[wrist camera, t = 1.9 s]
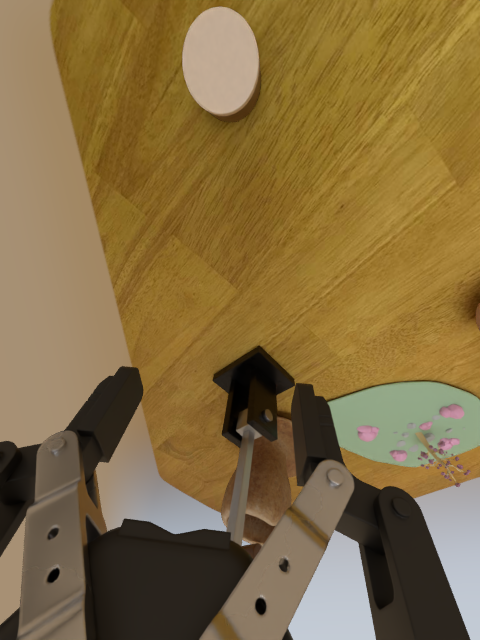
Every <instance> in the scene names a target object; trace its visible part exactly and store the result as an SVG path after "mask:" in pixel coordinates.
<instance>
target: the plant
mask: <svg viewBox="0 0 480 640" xmlns="http://www.w3.org/2000/svg"><path fill="white" fill-rule="evenodd" d="M327 403H328V405H329V406H330V410H331V414H332V418H333V422H334V427H335V430H336V435H337V439H338V443H339V446H340V447H342V448H344V449H347V450H349V451H351V452H354V453H356V454H358V455H361V456H363V457H366V458H368V459H371V460H374V461H378V462H383V463H389V464H394V465H400V466H406V467H418V466H422V467H424V465H425V464H428V463H430V464H433V463H434V462H436V461H437V462H436V463H435V464H434V465H426V468H427V469H429V467H427V466H435V465H436V464H437V463H438V462H440V463H441V464H442V465H444V466H445V468H446V469H447V474H445V473H444V472H442V473H441V475H445V476H444V477H445V478H446V479H448V478H449V473H450V474H451V473H452V474H453V473H454V471H451V472H450V470H449V468H448V467H449V466H453V465H449V464H451V463H450V461H447V460H450V459H445V458H448V457H452V456H455V455H458V454H461V453H464V452H466V451H469V450H471V449H473V448H476V447H478V446H480V400H479V399H478V398H477V397H476V396H474V395H472V394H471V393H468V392H466V391H464V390H461V389H458V388H455V387H452V386H449V385H446V384H443V383H439V382H430V381H420V382H399V383H392V384H385V385H380V386H375V387H371V388H368V389H365V390H362V391H359V392H356V393H353V394H350V395H347V396H344V397H341V398H338V399H335V400H332V401H329V402H327ZM441 460H446V461H447V463H446V464H445V463H444V462H442V461H441ZM455 460H456V461H458V460H459V458H458V457H456V458H455ZM448 463H449V464H448ZM441 464H439V467H441V466H442V465H441ZM437 466H438V465H437ZM437 466H436V467H437ZM439 467H437V469H439ZM453 467H455V466H453ZM457 467H458V468H459V469H461V470H462V468H463V466H462V465H457ZM455 468H456V467H455ZM456 469H457V468H456ZM459 469H457V470H458V471H461V470H459ZM463 472H466V473H464V475H468V474H469V473H470V470H467V471H463ZM452 474H451V476H452ZM452 477H453V476H452ZM453 479H454V477H453ZM449 480H450V481H452V480H451V479H449ZM454 480H455V479H454ZM455 482H456V481H455ZM455 485H456V487H459V486H460V484H459V483H456V484H455Z"/></svg>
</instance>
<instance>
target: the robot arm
mask: <svg viewBox="0 0 480 640" xmlns="http://www.w3.org/2000/svg"><path fill="white" fill-rule="evenodd" d="M142 396H143V385H142V381H141V378H140V374H139V370H138V368H135V367H124V366H122V367H120V368H119V369H118V371H117V372H116V374H115V375H114V376H109V377H107V378H106V379H105V380H103V381H102V382H101V383H100V384H99V385H98V386H97V388H96V389H95V390H94V392H93V394H91V396H90V397H89V398H88V401H86V402H85V404H84V405H83V406H82V408H81V409H80V410H79V412H78V413H77V414H76V416H75V417H74V419H73V420H72V421H71V423H70V424H69V426H68V427H67V428H66V429H65V430H64V431H61V432H58V433H56V434H54V435H52V436H50V437H49V438H48V439H46V440H45V441H44V442H43V443H42V444H37V445H32V446H27V447H22V448H17V446H16V445H15V444H14V443H13V442H10V441H4V442H0V557H1V555H2V553H3V552H4V550H5V549H6V547H7V545H8V544H9V542H10V541H11V539H12V537H13V536H14V534H15V533H16V531H17V529H18V528H19V526H20V524H21V523H22V521H23V519H24V518H25V516H26V523H25V539H24V554H23V569H22V570H23V571H22V585H21V600H20V607H19V608H18V609H17V610H16V611H15V612H14V613H13V614H12V615H11V616H10V617H9V618H7V619H6V620H5V621H4V622H3V623H2V624H1V625H0V640H293V638H292V636H291V634H290V632H289V630H288V626H289V624H290V622H291V620H292V618H293V616H294V614H295V612H296V610H297V608H298V606H299V603H300V602H301V599H302V597H303V595H304V593H305V591H306V589H307V587H308V585H309V583H310V581H311V579H312V577H313V575H314V573H315V571H316V569H317V567H318V564H319V562H320V560H321V558H322V556H323V554H324V552H325V550H326V548H327V545H328V542H329V540H330V538H331V536H332V534H333V532H334V530H336V531H338V532H340V533H342V534H343V535H346V536H347V537H349V538H351V539H353V540H355V541H357V542H358V543H359V548H360V554H361V560H362V565H363V570H364V576H365V581H366V587H367V592H368V598H369V603H370V608H371V614H372V619H373V625H374V630H375V635H376V640H470V637H469V635H468V632H467V630H466V627H465V624H464V622H463V619H462V616H461V614H460V611H459V608H458V606H457V603H456V601H455V598H454V596H453V593H452V590H451V588H450V585H449V582H448V580H447V577H446V574H445V572H444V569H443V566H442V564H441V561H440V558H439V556H438V553H437V551H436V548H435V545H434V543H433V540H432V537H431V535H430V532H429V530H428V527H427V525H426V522H425V519H424V516H423V514H422V511H421V509H420V507H419V505H418V504H417V503H416V501H415V500H414V499H413V498H412V497H411V496H410V495H409V494H408V493H406V492H405V491H403V490H402V489H400V488H397V487H393V486H388V487H384V488H383V489H382V490H380V489H378V488H376V487H373V486H371V485H369V484H367V483H364V482H362V481H360V480H359V479H357V478H356V477H355V476H353V475H352V474H351V473H350V472H349V470H348V469H347V468H346V466H345V464H344V462H343V459H342V455H341V451H340V447H339V443H338V439H337V435H336V430H335V427H334V422H333V418H332V414H331V410H330V406H329V405H328V403H327V402H326V400H325V399H324V398H323V397H321V396H315V394H314V389H313V385H312V384H302V383H296V386H295V391H294V395H293V400H292V405H291V419H292V430H293V442H294V453H295V464H296V476H297V486H303V489H302V490H301V492H300V493H299V495H298V496H297V498H296V500H295V501H294V503H293V504H292V505H291V507H289V508H288V509H287V510H286V511H285V513H284V514H283V516H282V517H281V519H280V520H279V522H278V523H277V525H276V526H275V528H274V529H273V531H272V532H271V534H270V535H269V537H268V538H267V540H266V541H265V543H264V544H263V546H262V548H261V549H260V551H259V552H258V554H257V555H256V557H255V558H254V559H253V558H252V557H251V555H250V554H249V553H248V552H247V551H246V550H245V549H244V548H243V547H242V546H240V545H239V544H237V543H236V542H234V541H232V540H231V532H224V531H216V530H208V529H202V530H196V531H191V532H186V533H181V534H172V533H170V532H168V531H167V530H164V529H163V528H161V527H159V526H157V525H155V524H153V523H151V522H147V521H139V520H131V519H124V520H123V523H122V525H121V527H118V528H115V529H112V530H110V531H108V532H107V528H106V524H105V521H104V518H103V515H102V511H101V504H100V496H99V489H98V483H97V475H96V470H95V468H96V467H97V465H98V463H99V462H107V463H108V462H109V461H110V459H111V457H112V455H113V453H114V451H115V449H116V447H117V445H118V444H119V442H120V439H121V438H122V436H123V434H124V432H125V430H126V428H127V426H128V424H129V422H130V421H131V419H132V417H133V415H134V413H135V410H136V409H137V407H138V405H139V403H140V401H141V399H142Z"/></svg>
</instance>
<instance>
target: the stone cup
mask: <svg viewBox="0 0 480 640" xmlns="http://www.w3.org/2000/svg"><path fill="white" fill-rule="evenodd" d="M277 433H278V439H277V440H275V441H272V442H270V441H269V440H268V439H267V438H265V437H264V436H263V435H262V436H261V437H259V438H257V439H254V445H253V454H252V462H251V471H250V479H249V487H248V496H247V504H246V512H245V521H244V529H243V537H242V540H244V541H246V542H248V543H251V544H255V543H259V544H261V545H262V546H263V544H264V543H265V541H266V540H267V538H268V537H269V535H270V534H271V532H272V531H273V529H274V528H275V526H276V525H277V523H278V522H279V520H280V519H281V517H282V516H283V514H284V513H285V511H286V510H287V509H288V508H289V507H291V490H290V484H289V479H288V477H294V476H296V464H295V453H294V442H293V430H292V421H291V420H289V419H287V418H284V417H278V416H277ZM236 471H237V468H236V470H235V472H234V473H233V475H232V477H231V479H230V481H229V483H228V485H227V488H226V491H225V495H224V498H223V502H222V509H221V516H222V520H223V523H224V525H225V526H226V527H227V525H228V519H229V513H230V507H231V501H232V495H233V489H234V483H235V477H236Z"/></svg>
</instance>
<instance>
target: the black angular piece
mask: <svg viewBox="0 0 480 640" xmlns="http://www.w3.org/2000/svg"><path fill="white" fill-rule="evenodd" d="M213 381H214V382H215V383H216V384H217V385H219V386H220V387H221V388H222V389H224V390H225V391H226V392H227V393H229V395H228V401H227V407H226V412H225V418H224V424H223V430H222V436H224V437H225V438H227V439H228V440H229V441H231V442H232V443H234V444H235V445H236V446H238V447H239V448H240V447H241V441H242V436H241V435H240V434H239V433H238V432H236V427H237V422H238V416H239V412H241V411H243V410H245V409H247V408H248V412H247V424H249V425H250V426H251V427H252V428H254V429H255V430H256V431H258V432H259V433H260V434H261V435H263V436H264V437H265V438H267V439H268V440H269V441H270V442H272V441H275V440H277V439H278V433H277V400H276V395H278V394H279V393H281V392H283V391H285V390H287V389H289V388H291V387H293V386H295V382H294V378H292V377H291V376H290V375H289V374H288V373H287V372H286V371H285V370H284V369H283V368H282V367H281V366H280V365H279V364H278V363H277V362H276V361H275V360H274V359H273V358H272V357H271V356H270V355H268V354H267V353H266V352H265V351H264V350H263V349H262V348H261V347H260V346H258V347H256V348H255V349H253V350H252V351H250V352H249V353H247V354H245V355H244V356H242V357H241V358H239V359H238V360H236V361H234V362H233V363H231V364H230V365H228V366H227V367H225V368H223V369H222V370H220V371H219V372H217V373H216V374H214V377H213Z"/></svg>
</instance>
